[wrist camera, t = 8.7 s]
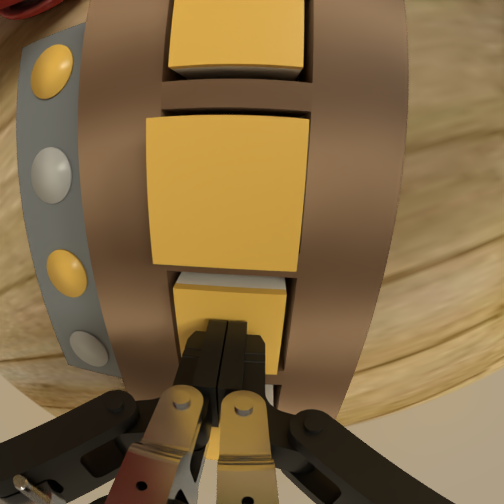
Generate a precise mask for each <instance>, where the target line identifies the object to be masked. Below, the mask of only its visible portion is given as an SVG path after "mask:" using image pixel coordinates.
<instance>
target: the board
mask: <svg viewBox="0 0 504 504" xmlns="http://www.w3.org/2000/svg"><path fill="white" fill-rule="evenodd" d="M173 8H174V0H90V4H89V9H88V14H87V20H86V26H85V33H84V40H83V47H82V56H81V66H80V78H79V96H78V154H79V173H80V186H81V196H82V206H83V214H84V222H85V229H86V236H87V242H88V248H89V254H90V260H91V265H92V270H93V275H94V280H95V284H96V289H97V293H98V298H99V302H100V306H101V310H102V314H103V318H104V321H105V325H106V329H107V332H108V336H109V339H110V342H111V346H112V349H113V352H114V355H115V358H116V361H117V364H118V367H119V370H120V373H121V376H122V379H123V382H124V384H125V387H126V390H127V392H128V393H129V394H131V395H132V396H133V398H134V399H135V401H138V400H150V399H156V398H159V397H161V395H162V393H163V392H164V391H165V390H166V389H168V388H170V387H172V385H173V382H174V379H175V376H176V373H177V370H178V366H179V363H180V360H181V351H180V344H179V336H178V329H177V321H176V312H175V304H174V294H173V287H174V285H175V283H176V282H177V280H178V278H179V276H180V274H181V272H194V273H211V274H228V275H247V276H267V277H286V278H285V285H286V293H287V297H286V306H285V315H284V323H283V331H282V339H281V347H280V355H279V362H278V370H277V375H272V374H265V384H269V385H273V407H275V408H276V409H278V410H280V411H283V412H286V413H290V414H294V415H295V414H297V413H298V412H300V411H303V410H307V409H316V410H320V411H323V412H325V413H327V414H328V415H330V416H331V417H332V418H333V419H336V417H337V414H338V412H339V410H340V407H341V405H342V403H343V400H344V398H345V395H346V393H347V390H348V387H349V385H350V382H351V380H352V377H353V374H354V371H355V369H356V366H357V363H358V360H359V357H360V354H361V351H362V348H363V345H364V342H365V339H366V336H367V333H368V330H369V327H370V323H371V320H372V317H373V313H374V310H375V306H376V302H377V299H378V295H379V291H380V288H381V284H382V280H383V276H384V271H385V267H386V263H387V258H388V254H389V249H390V244H391V240H392V235H393V229H394V224H395V218H396V213H397V207H398V200H399V194H400V187H401V180H402V172H403V163H404V154H405V143H406V130H407V114H408V39H407V24H406V12H405V3H404V0H304V56H303V68H302V70H301V71H300V73H299V82H295V81H283V80H266V79H197V80H188V79H186V78H185V77H183V76H182V75H180V74H179V73H177V72H175V71H174V70H172V69H171V68H169V67H168V63H169V49H170V37H171V27H172V17H173ZM198 114H245V115H270V116H286V117H298V118H301V119H309V134H308V150H307V164H306V178H305V190H304V202H303V213H302V224H301V234H300V244H299V253H298V263H297V271H296V272H289V271H268V270H248V269H229V268H211V267H194V266H178V265H162V264H153V258H152V248H151V237H150V225H149V211H148V194H147V168H146V118H154V117H169V116H189V115H198Z"/></svg>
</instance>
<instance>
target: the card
mask: <svg viewBox="0 0 504 504" xmlns="http://www.w3.org/2000/svg"><path fill="white" fill-rule="evenodd" d="M85 26H86V22H85V23H82V24H79V25H76V26H73V27H71V28H68V29H65V30H62V31H60V32H57V33H55V34H52V35H50V36H47V37H45V38H43V39H40V40H38V41H36V42H34V43H32V44H29V45H27V46H25V47H23V48H22V54H21V61H20V70H19V80H18V92H17V116H16V136H17V160H18V174H19V184H20V193H21V201H22V208H23V214H24V220H25V226H26V231H27V236H28V241H29V246H30V251H31V255H32V259H33V263H34V267H35V271H36V275H37V278H38V282H39V286H40V289H41V292H42V296H43V299H44V302H45V305H46V308H47V311H48V314H49V317H50V320H51V323H52V325H53V328H54V331H55V333H56V336H57V339H58V341H59V344H60V346H61V349H62V351H63V353H64V356H65V358H66V360H67V363H68V365H71V366H75V367H79V368H82V369H86V370H90V371H94V372H98V373H102V374H107V375H111V376H116V377H120V378H122V376H121V373H120V370H119V367H118V364H117V361H116V358H115V355H114V352H113V349H112V346H111V342H110V339H109V336H108V332H107V329H106V325H105V321H104V318H103V314H102V310H101V306H100V302H99V298H98V293H97V289H96V284H95V280H94V275H93V270H92V265H91V260H90V254H89V248H88V242H87V236H86V229H85V222H84V214H83V206H82V196H81V186H80V173H79V154H78V96H79V78H80V66H81V56H82V47H83V40H84V33H85Z"/></svg>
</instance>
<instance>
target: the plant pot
mask: <svg viewBox="0 0 504 504" xmlns="http://www.w3.org/2000/svg"><path fill="white" fill-rule="evenodd" d="M62 1H64V0H0V14H1V15H2V16H3V17H5V18H7V19H12V20H20V19H25V18H29V17H32V16H35V15H37V14H40V13H42V12H44V11H46V10H48V9H50V8H52V7H54V6H56V5H57V4H59V3H61V2H62Z"/></svg>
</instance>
